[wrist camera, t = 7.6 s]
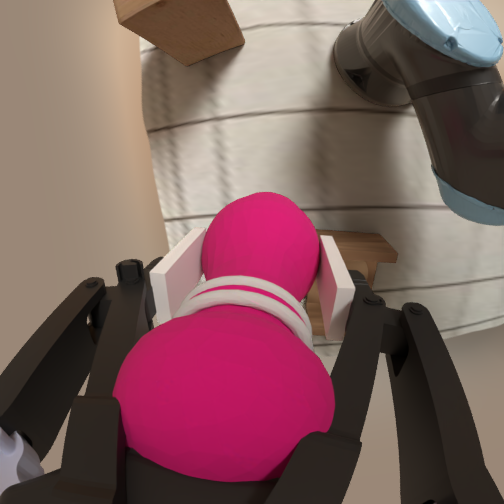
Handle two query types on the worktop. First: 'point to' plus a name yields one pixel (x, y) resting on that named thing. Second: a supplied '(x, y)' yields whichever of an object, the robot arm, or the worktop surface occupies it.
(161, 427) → the pepper mill
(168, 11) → the wooden block
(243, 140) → the worktop surface
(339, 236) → the holder
